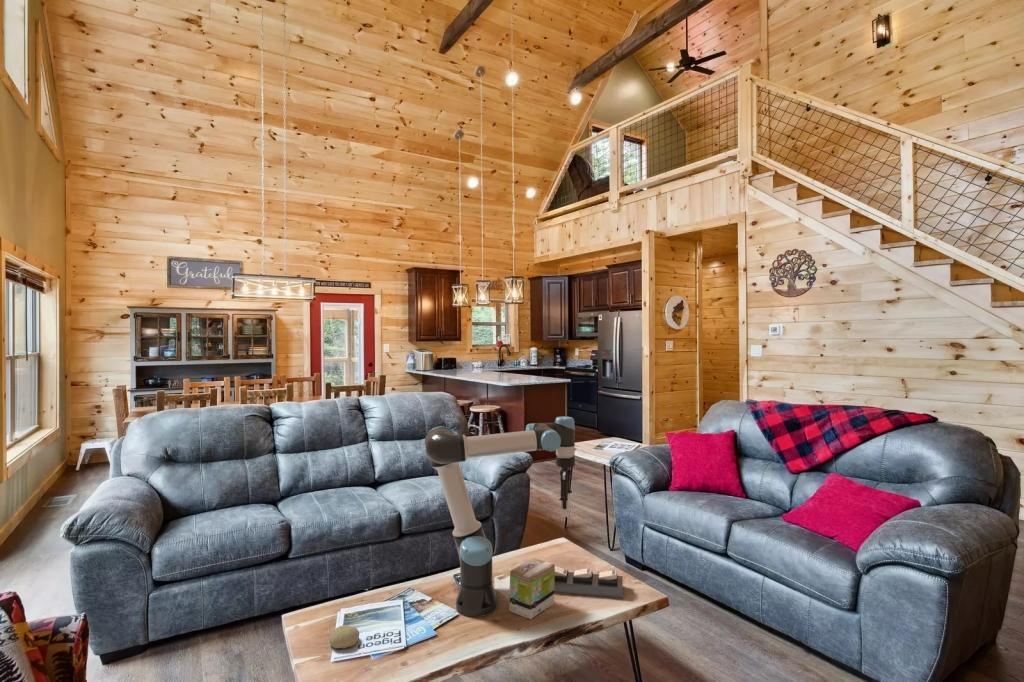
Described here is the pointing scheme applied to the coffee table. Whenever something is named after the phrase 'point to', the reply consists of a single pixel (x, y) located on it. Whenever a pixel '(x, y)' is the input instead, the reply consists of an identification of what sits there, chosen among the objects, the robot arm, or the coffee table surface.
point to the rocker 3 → (608, 575)
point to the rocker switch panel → (589, 586)
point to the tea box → (532, 587)
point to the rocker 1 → (560, 571)
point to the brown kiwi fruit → (344, 636)
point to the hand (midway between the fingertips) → (565, 512)
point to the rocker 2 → (583, 573)
